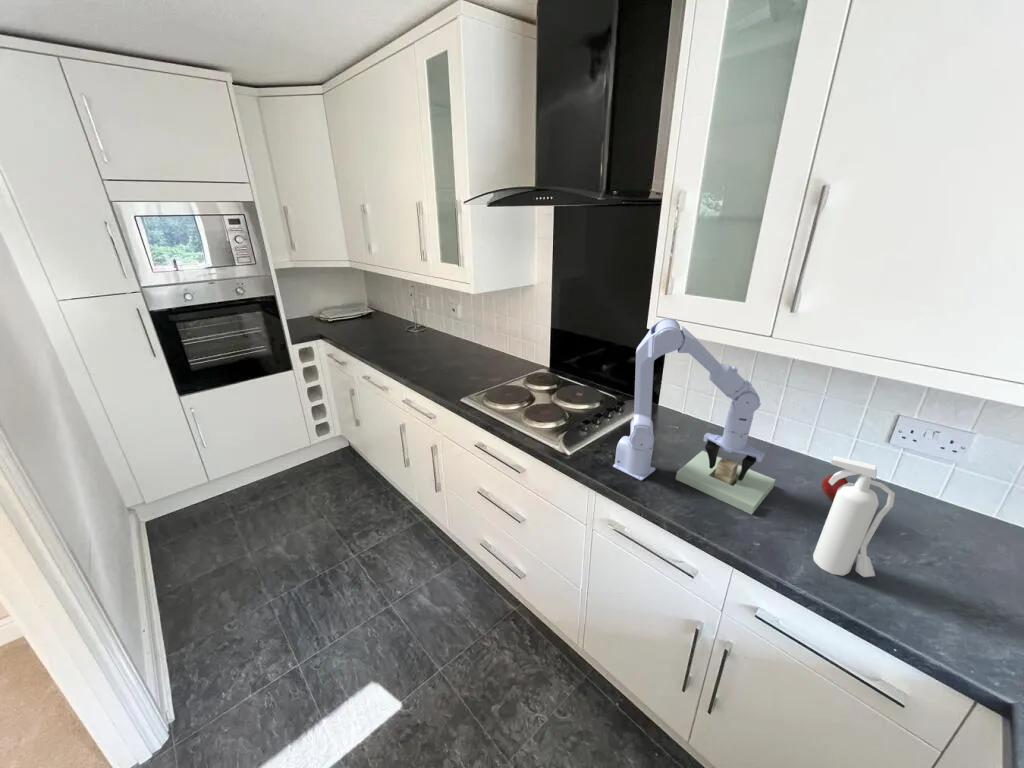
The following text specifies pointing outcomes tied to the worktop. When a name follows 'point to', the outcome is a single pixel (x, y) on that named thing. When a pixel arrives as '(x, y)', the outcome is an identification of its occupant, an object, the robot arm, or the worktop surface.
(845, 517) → the fire extinguisher
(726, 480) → the beech block
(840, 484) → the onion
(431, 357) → the worktop surface
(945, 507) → the worktop surface
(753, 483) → the well board
